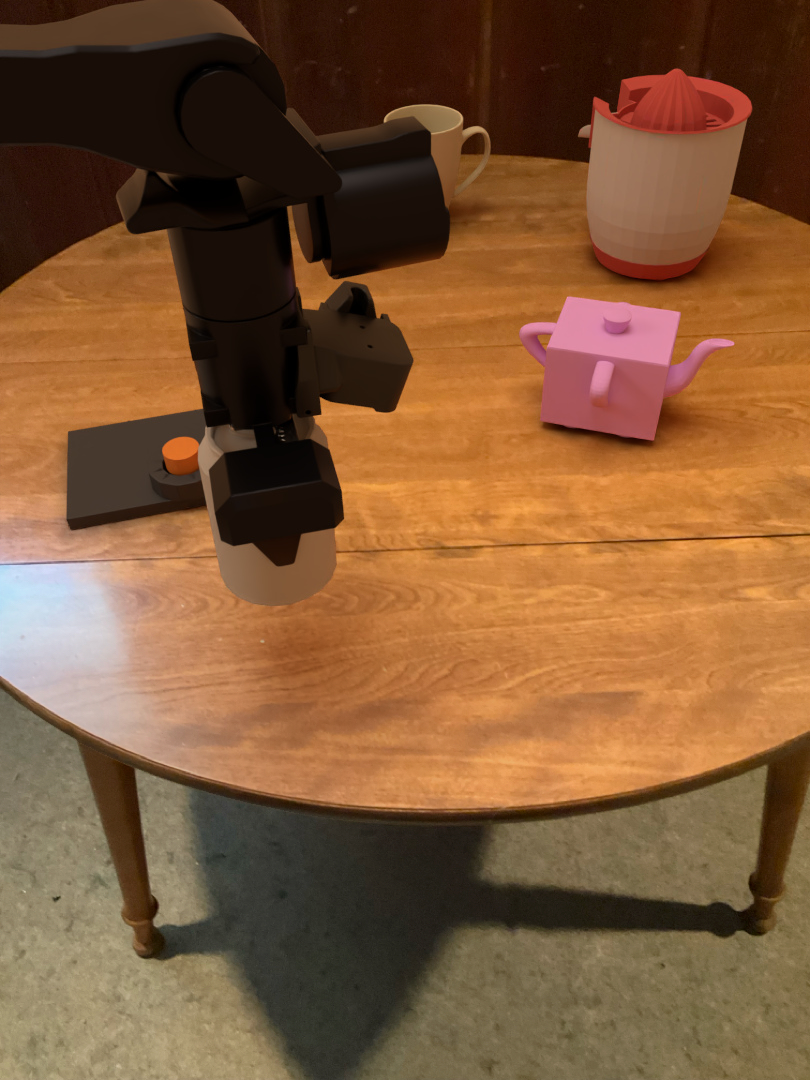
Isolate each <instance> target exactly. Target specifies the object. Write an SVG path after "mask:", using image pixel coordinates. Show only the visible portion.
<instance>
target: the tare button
mask: <svg viewBox="0 0 810 1080" xmlns="http://www.w3.org/2000/svg"><path fill="white" fill-rule="evenodd" d="M198 447H199V443H198V442H197V441H196V440H195V439H193V438H190V437H178V438H174V439H172V440H170V441H168V442H167V443H166V444H165V445H164V447H163V449H162V453H163V457H164V460H165V464H166V468H167V470H168V471H169V472H170V473H171V474H173V475H177V476H182V475H188V474H192V473H194V472H195V471H197V470H199V464H198Z"/></svg>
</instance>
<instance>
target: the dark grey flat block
mask: <svg viewBox="0 0 810 1080" xmlns="http://www.w3.org/2000/svg"><path fill="white" fill-rule="evenodd" d="M205 428H206V421H205V417H204V412H203V408H198V409H193V410H186V411H180V412H175V413H169V414H162V415H157V416H156V415H155V416H151V417H146V418H139V419H133V420H127V421H121V422H115V423H110V424H103V425H96V426H92V427H85V428H80V429H75V430H69V431H67V457H66V458H67V462H66V463H67V464H66V467H67V468H66V512H65V513H66V516H65V517H66V518H65V519H66V520H65V521H66V523H67V525H68V528H69V530H78V529H83V528H88V527H89V528H90V527H94V526H99V525H105V524H110V523H115V522H121V521H126V520H132V519H137V518H142V517H148V516H154V515H159V514H164V513H171V512H176V511H180V510H186V509H192V508H196V507H197V508H198V507H202V506H207V504H206V499H205V494H204V489H203V484H202V479H201V474H200V469H199V470H197V471H195V472H194V473H192V474H188V475H182V476H177V475H173V474H171V473H170V472H169V471H168V470H167V468H166V464H165V460H164V457H163V453H162V449H163V447H164V445H165V444H166V443H167V442H168V441H170V440H172V439H174V438H178V437H190V438H193V439H195V440H196V441H197V442H198V443H199V446H200V444H201V442H202V440H203V438H204V436H205Z"/></svg>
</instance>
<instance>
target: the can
mask: <svg viewBox="0 0 810 1080" xmlns="http://www.w3.org/2000/svg"><path fill="white" fill-rule="evenodd" d="M293 417H294V421H295V424H296V428H297V432H298V436H299V440H304V439H312V440H314V441H316V442H317V443H319V444H321V445H322V446H324V447H326V448H328V449H329V442H328V441H329V440H328V436H327V435H326V433H325V432H324V430H323V429H322V428H321V426H320V425H318V424H317V423H316V418H315V416H311V417H305V418H299V417H298V416H297V413H296V414H293ZM273 430H274V434H275V439H276V443H277V444H280V440H279V436H278V431H277V427H276V426H273ZM256 447H257V446H256V442H255V437H254V432H253V430H239V431H230V430H229V426H228V425H222V426H215V427H209V428H207V426H206V428H205V436H204V438H203V440H202V442H201V444H200V446H199V447H198V464H199V469H200V474H201V479H202V484H203V489H204V494H205V499H206V504H207V505H206V509H207V513H208V519H209V525H210V528H211V533H212V538H213V544H214V548H215V549H214V550H215V553H216V559H217V563H218V569H219V573H220V574H219V575H220V577H221V579H222V581H223V583H224V586H225V588H226V589H227V590H228V591H229V592H231V594H233V595H234V596H235V597H236V598H237V599H240V600H243V601H245V602H247V603H249V604H252V605H256V606H264V607H270V608H272V607H286V606H291V605H294V604H297V603H300V602H303V601H306V600H309V599H310V598H312V597H314V596H315V595H316V594H318V593H320V592H321V591H322V590H324V589H325V587H326V586H327V585H328V584H329V583H330V581H331V580H332V579H333V577H334V575H335V571H336V569H337V566H338V561H337V548H336V547H337V545H336V536H335V535H336V534H335V528H333V529H327V530H322V531H316V532H311V533H305V534H301V538H300V543H299V547H298V551H297V555H296V560H295V563H294V564H291V565H286V566H281V567H277V566H275V565H274V564H273V563H272V562H271V561H270V560H269V559H268V558H267V557H266V556H265V555H264V554H263V553H262V552H261V551H260V550H259V549H258V548H257V547H256V546H255V545H254V544H252V543H250V544H244V545H239V546H231V545H229V544H227V543H225V542H222V541H221V539H220V535H219V530H218V526H217V521H216V517H215V512H214V505H213V498H212V490H211V483H210V476H209V469H210V468H211V467H212V466H213V464H214V463H215V462H216V461H217V460H218V459H219V458H220V457H221V455H222V454H223V453H226V452H232V451H238V450H244V449H250V448H256Z"/></svg>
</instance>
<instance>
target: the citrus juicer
mask: <svg viewBox="0 0 810 1080" xmlns="http://www.w3.org/2000/svg"><path fill="white" fill-rule="evenodd" d="M616 109H617V110H616V112H611V110H610V103H608V102H606V101H604V100H603V99H601V98H599V97H597V96H594V97H593V99H592V110H591V121H590V124H587V125H585V126H583V127H581V128H580V129H579V132H578V134H577V137H578V138H586V139H588V146H587V147H588V149H589V148H590V155H589V162H588V172H587V181H586V197H585V199H586V200H585V202H586V204H585V205H586V216H587V217H586V218H587V224H588V229H589V239H590V243H591V246H592V248H593V252H594V255H595V257H596V259H597V261H598V262H599V263H600V264H601V265H603V267H605V268H607V269H609V270H610V271H612V272H615V273H617V274H619V275H623V276H626V277H630V278H635V279H636V278H637V279H642V280H643V279H644V280H653V281H665V280H666V279H672V278H676V277H680V276H683V275H685V274H687V273H690V272H692V271H693V270H694V269H695V268H696V267H697V266H698V264H699V263H700V261H701V260H702V259H703V257H704V256H705V255H706V254H707V252H708V251H709V249H710V246H711V243H712V241H713V240H714V238H715V236H716V234H717V232H718V230H719V227H720V226H721V223H722V220H723V218H724V215H725V213H726V210H727V207H728V203H729V200H730V197H731V193H732V189H733V184H734V179H735V175H736V171H737V167H738V163H739V158H740V154H741V153H740V152H741V149H742V145H743V141H744V140H743V139H744V135H745V130H746V126H747V121H748V118H750V117H751V115H752V112H753V105H752V101H751V100H750V98H749V97H748V96H747V95H746V94H745V93H743V92H742V91H740V90H739V89H737V88H735V87H733V86H731V85H729V84H725V83H722V82H720V81H716V80H712V79H707V78H702V77H696V76H689V75H687V74H686V73H685V72H684V71H683V70H682V69H680V68H673V69H671V70H669V72H668V73H666V74H651V75H649V74H648V75H640V76H633V77H629V78H625V79H621V81H620V89H619V95H618V101H617V107H616Z"/></svg>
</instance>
